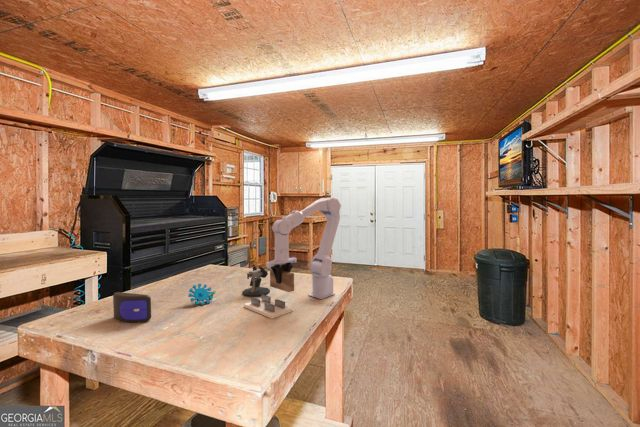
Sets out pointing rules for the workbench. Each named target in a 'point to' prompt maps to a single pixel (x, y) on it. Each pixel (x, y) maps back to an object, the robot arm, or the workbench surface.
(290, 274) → the brown wooden block
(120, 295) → the purple-faced speaker box
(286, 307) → the cabinet panel
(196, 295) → the gear
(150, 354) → the workbench surface
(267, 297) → the hinge clips
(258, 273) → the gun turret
